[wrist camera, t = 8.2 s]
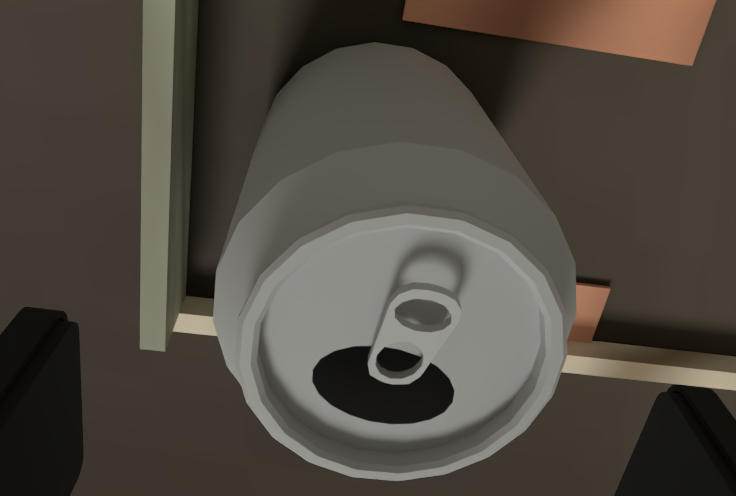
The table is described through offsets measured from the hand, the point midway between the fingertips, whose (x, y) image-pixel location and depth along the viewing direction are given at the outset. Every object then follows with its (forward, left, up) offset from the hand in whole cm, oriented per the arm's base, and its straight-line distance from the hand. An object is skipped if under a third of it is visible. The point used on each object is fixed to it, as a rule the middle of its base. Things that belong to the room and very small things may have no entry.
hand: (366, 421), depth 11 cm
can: (-1, 0, -14) cm, 14 cm away
